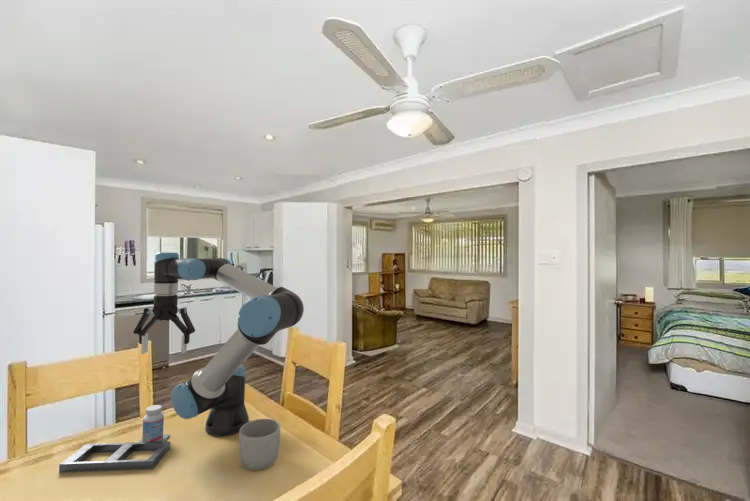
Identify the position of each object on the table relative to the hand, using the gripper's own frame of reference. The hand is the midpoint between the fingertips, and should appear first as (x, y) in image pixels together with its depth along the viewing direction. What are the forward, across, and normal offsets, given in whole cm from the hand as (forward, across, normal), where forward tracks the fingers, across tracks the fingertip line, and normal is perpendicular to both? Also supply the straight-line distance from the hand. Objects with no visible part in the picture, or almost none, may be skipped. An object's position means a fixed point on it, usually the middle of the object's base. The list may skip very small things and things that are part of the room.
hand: (164, 352), depth 127 cm
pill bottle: (+28, 0, +7) cm, 29 cm away
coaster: (+29, 0, +7) cm, 30 cm away
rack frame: (+29, +5, +17) cm, 34 cm away
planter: (+29, -39, +21) cm, 53 cm away
